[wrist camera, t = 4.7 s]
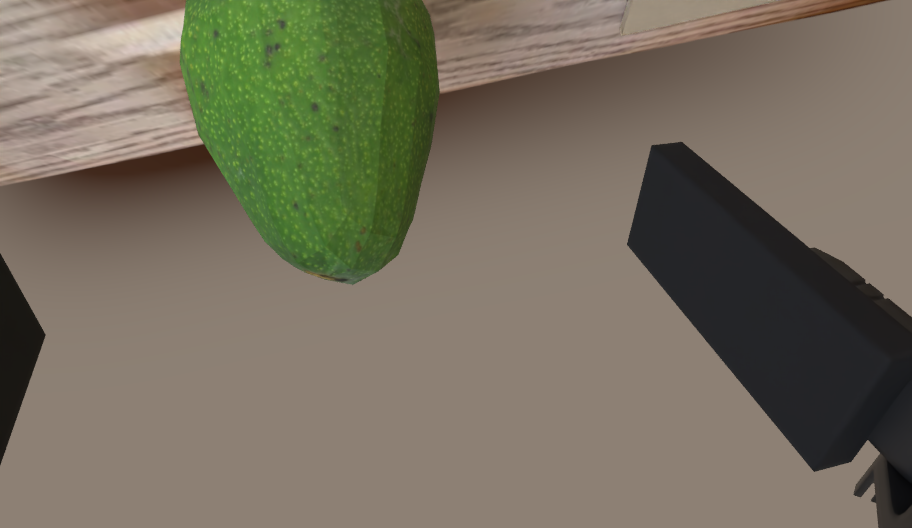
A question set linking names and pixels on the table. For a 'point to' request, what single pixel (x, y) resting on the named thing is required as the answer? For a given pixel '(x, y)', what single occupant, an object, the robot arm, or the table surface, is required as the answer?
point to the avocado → (317, 120)
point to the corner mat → (676, 12)
